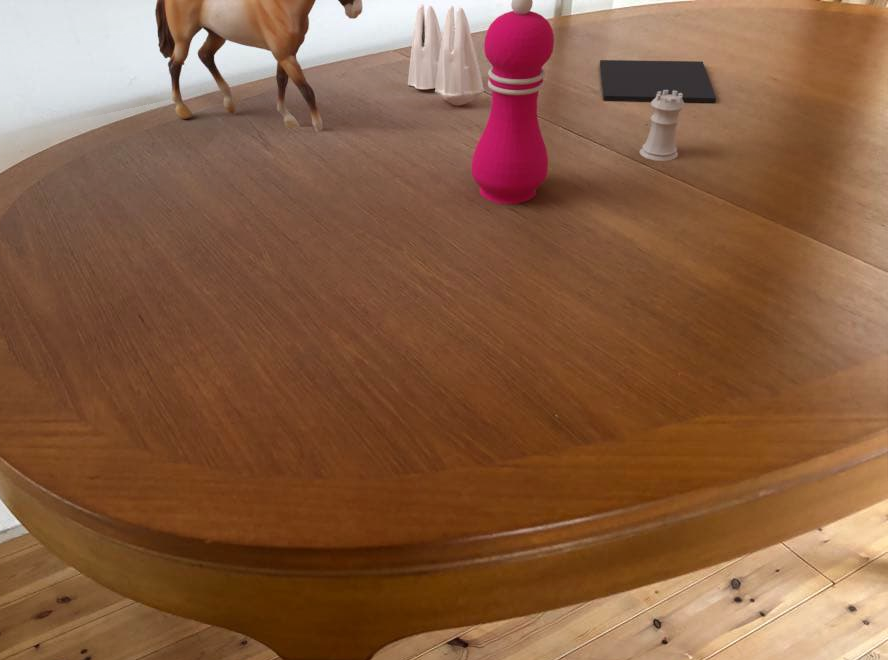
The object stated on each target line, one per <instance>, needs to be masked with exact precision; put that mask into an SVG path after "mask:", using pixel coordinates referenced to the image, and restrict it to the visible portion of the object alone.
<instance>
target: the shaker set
mask: <svg viewBox="0 0 888 660" xmlns="http://www.w3.org/2000/svg"><path fill="white" fill-rule="evenodd" d="M415 14H416V15H415V22H414V28H413V35H412V43H411V50H410V57H409V58H410V61H409V67H408V68H409V69H408V78H407V86H411V87H414V88H415V89H418V90H430V89H435V90H434V93H436V94H438V95H439V96H441V98H443V99H444V100H445V101H446V102H448V103H449V104H451V105H453V106H462V105H465V104H468V103H470V102H472V101H473V100H475V99H477V98H478V97H479V96H481V95H482V94H483V93H484V91H485V89H484V84H483V79H482V76H481V71H480V67H479V62H478V59H477V53H476V50H475V46H474V42H473V38H472V35H471V29H470V24H469V20H468V18H467V15H466V13H465V11H464V9H463V7H461V6H459V7H458V8H457V10H456V13H455V7H454V6H453V5H450V6H448V7H447V10H446V14H445V18H444V25H443V31H442V33H441V27H440V24H439V20H438V17H437V14H436V12H435V10H434V8H433V6H432V5H428V6H427V8H426V13H425V5H424V3H423V4H419V5H418V7H417V10H416V13H415ZM455 14H456V15H455Z"/></svg>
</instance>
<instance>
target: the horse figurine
mask: <svg viewBox="0 0 888 660" xmlns="http://www.w3.org/2000/svg"><path fill="white" fill-rule="evenodd" d="M316 1H317V0H156V4H155V9H154V11H155V12H154V15H155V22H156V27H157V39H158V49H159V52H160V53H161V54H162V56H163V58H164V59H168V58H169V60H168V62H167V66H168V73H169V75H170V79H171V80H170V81H171V100H172V101H173V102H174V103H175V105H176V107H175V109H174V110H175V113H176V115H177V116H178V117H179V118H180V119H184V120H187V119H190V118H192V116H193V112H192V111H191V110H190V108H189V107H188V106H187V104H186V103H184V101H183V98H182V92H181V87H180V77H181V73H182V69H183V66H185V61H186V60H187V58H188V56H189V52H190V48H191V43H192V41H193V39H194V37H195V36H196V35H197V34H198V33H199V32H200V31H201V30H202V29H203V30H204V31H206V32H207V36H206V38H205V40H204V42H203V43H202V45H201V47H200V48H199V49H198V50H197V57H198V59H199V60H200V62H201V63H202V64H203V65H204V66H205V67H206V69H207V70H208V71H209V73H210V74H211V76H212V78H213V79H214V81H215V83H216V85H217V87H218V89H219V90H220V92H221V93H222V94H223V95H224V97H223V107H224V109H225V110H226V111H227V112H228V113H230V114H235V112H236V102H235V99H234V96H233V94H232V90H231V86H230V85H229V83H228V82H227V81H226V80H225V79H224V77H223V76H222V74H221V71H219V69H218V67H217V65H216V61H215V55H216V54H217V52H218V51H219V50H220V49H221V48H222V47H223V46H224V45H225V44H226V42H227V41H229V42H232V43H235V44H238V45H242V46H246V47H250V48H251V47H252V48H255V49H256V48H257V49H261V50H266V51H268V52H270V53H271V54H272V56H273V58H274V59H275V61H276V62H277V63H276V73H275V74H276V76H275V78H276V79H275V80H276V84H277V100H276V101H277V102H276V110H277V112H278V113H280V114H281V115H282V117H283V124H284V126H285V127H296V128H297V127H298V128H299V127H301V125H300V123H299V122H298V121H297V119H296V117H294V116H293V115H292V114H291V113H290V111H289V110H288V107H287V104H286V89H287V86H288V82H289V78H290V80H291V81H292V83H293V84H294V85H295V87H296V88H297V90H298V91H299V93H300V95H302V98H303V99H304V101H305V102H306V104H307V106H308V110H309V113H310V118H311V123H312V126H313V128H314V130H315V132H321V131H323V119H322V116H321V115H320V112H319V109H318V107H317V103H316V95H315V91H314V89H313V87H312V86H311V85H310V84H309V83H308V81H307V79H306V77H305V75H304V72H303V69H302V66H301V65H300V63H299V61H298V59H297V54H298V52H299V49H300V48H301V46H302V45H303V43H304V42H305V38H306V35H307V34H308V31H309V29H310V17H309V14H310V13H311V11H312V9H313V7H314V5H315V4H316ZM337 1H338V2H339V3H340V5H341V6H342V7H343V8H344V14H345V16H346V17H348V19H352V20H353V19H357V18H358V17H359V15H361V14H362V13H363V0H337Z"/></svg>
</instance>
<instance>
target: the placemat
mask: <svg viewBox="0 0 888 660" xmlns="http://www.w3.org/2000/svg"><path fill="white" fill-rule="evenodd" d="M599 71H600V79H601V81H600V82H601V90H602V99H603V101H608V102H609V101H612V102H613V101H614V102H615V101H616V102H617V101H619V102H652V101H653V100H654V99H655V98H656V94H657V92H659V91H661V92H662V93H661V95H662V94H663V90H668V95H672V91H673V90H674V91H678V93H677V96H678V94H679V93H682V94H683V97H682V100H683V102H684V103H701V104H702V103H705V104H706V103H708V104H715V103H716V102H717V96H716V94H715V91H714V88H713V85H712V83H711V80H710V77H709V74H708V72H707V69H706V67H705V64H704V61H703V60H702V61H701V60H700V61H699V60H698V61H696V60H695V61H694V60H693V61H692V60H691V61H689V60H630V59H629V60H627V59H625V60H623V59H615V60H614V59H611V60H610V59H600V60H599Z"/></svg>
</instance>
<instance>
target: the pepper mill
mask: <svg viewBox="0 0 888 660" xmlns="http://www.w3.org/2000/svg"><path fill="white" fill-rule="evenodd" d="M533 3H534V2H533V0H511V3H510V6H511V9H512V10H511V11H507V12H504V13H503V14H501V15H499V16H498V17H496V18H495V19H494V20H493V21H492V22H491V23H490V25H489V26H488V28H487V30H486V34H485V37H484V45H483V47H484V48H483V49H484V50H483V51H484V54H485V55H484V56H485V58H486V60H487V61H488V62H489V63H490V65H491V66H492V67H490V68H489V70H488V72H487V74H488V80H487V86H488V88H489V89H490V90H491V104H490V112H489V116H488V119H487V122H486V125H485V127H484V129H483V132H482V134H481V136H480V138H479V139H478V142H477V144H476V146H475V149H474V152H473V155H472V157H471V167H470V168H471V169H470V171H471V175H472V178H473V180H474V181H475V183H476V184H477V185H478V186H479V194H480V195H481V197H483V198H484V199H485V200H487V201H490V202H493V203H498V204H506V205H508V204H510V205H512V204H520V203H524V202H527V201H529V200H531V199H533V198H534V197H536V194H537V190H536V189H538V187H540V186H541V185H542V184H543V182H544V181H545V179H546V178H547V176H548V172H549V171H548V170H549V168H548V167H549V158H548V151H547V146H546V144H545V141H544V138H543V135H542V131H541V128H540V125H539V117H538V97H539V92H540V91H541V90H543V89H544V86H545V81H544V78H545V76H546V71H545V69H544V68H543V67H544V66H545V64H547V62H548V61H549V60H550V59H551V56H552V54H553V52H554V46H555V36H554V31H553V28H552V25H551V23H550V21H548V19H546V18H545V17H544V16H543V15H542V14H540V13H537V12H535V11H532V8H533Z"/></svg>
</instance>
